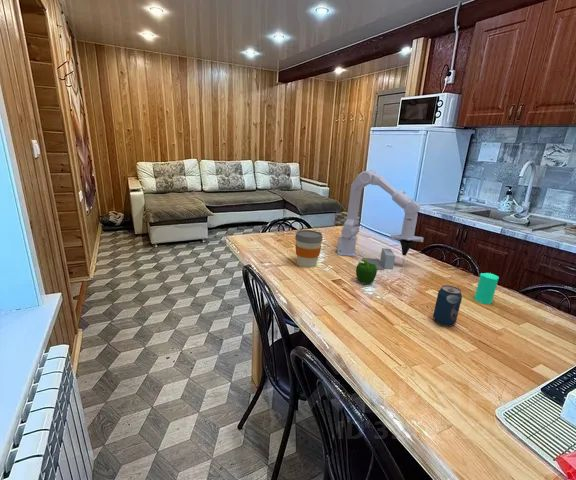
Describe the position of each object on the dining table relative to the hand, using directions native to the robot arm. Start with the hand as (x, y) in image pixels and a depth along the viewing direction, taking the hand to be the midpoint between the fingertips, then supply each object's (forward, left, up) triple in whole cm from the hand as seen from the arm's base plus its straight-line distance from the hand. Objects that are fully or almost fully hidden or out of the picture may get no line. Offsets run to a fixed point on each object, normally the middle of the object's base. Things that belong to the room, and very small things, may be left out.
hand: (403, 254), depth 149 cm
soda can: (+1, -49, -6) cm, 49 cm away
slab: (-7, 0, -6) cm, 10 cm away
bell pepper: (-21, -22, -6) cm, 31 cm away
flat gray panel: (-14, 0, -6) cm, 15 cm away
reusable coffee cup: (-46, -7, -6) cm, 47 cm away
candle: (+23, -30, -6) cm, 38 cm away
